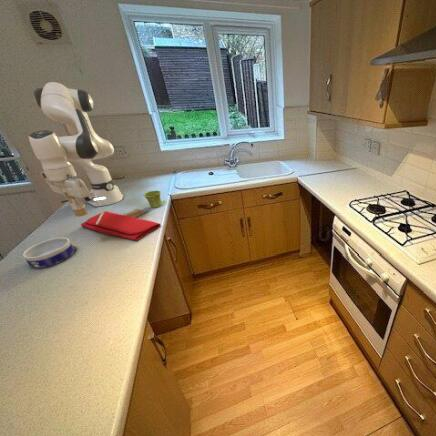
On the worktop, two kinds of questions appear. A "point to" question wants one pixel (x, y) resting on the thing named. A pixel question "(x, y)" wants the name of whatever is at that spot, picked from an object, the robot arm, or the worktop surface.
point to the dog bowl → (49, 253)
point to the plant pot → (153, 198)
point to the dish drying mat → (120, 225)
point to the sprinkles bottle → (75, 205)
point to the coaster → (135, 213)
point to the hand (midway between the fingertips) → (77, 204)
